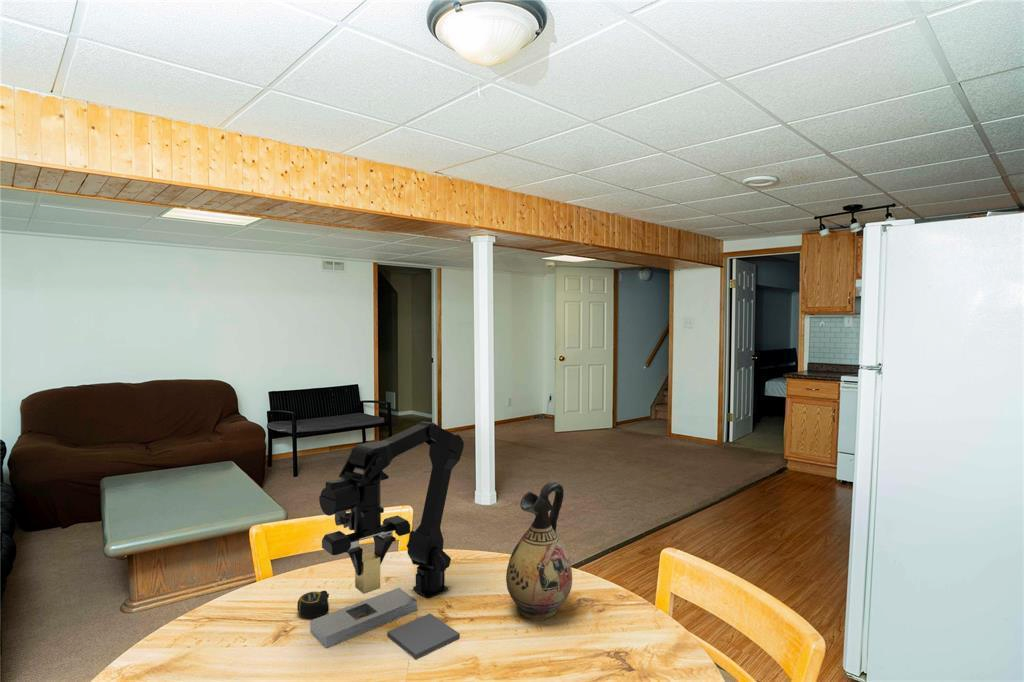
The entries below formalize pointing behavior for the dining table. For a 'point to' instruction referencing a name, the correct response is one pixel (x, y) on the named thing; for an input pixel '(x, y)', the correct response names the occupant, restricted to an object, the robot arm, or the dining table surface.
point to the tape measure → (313, 604)
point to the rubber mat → (423, 635)
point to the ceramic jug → (540, 559)
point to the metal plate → (379, 610)
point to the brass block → (368, 573)
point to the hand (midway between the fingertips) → (367, 572)
